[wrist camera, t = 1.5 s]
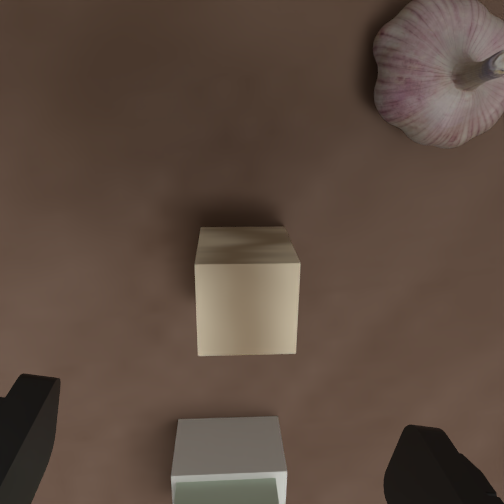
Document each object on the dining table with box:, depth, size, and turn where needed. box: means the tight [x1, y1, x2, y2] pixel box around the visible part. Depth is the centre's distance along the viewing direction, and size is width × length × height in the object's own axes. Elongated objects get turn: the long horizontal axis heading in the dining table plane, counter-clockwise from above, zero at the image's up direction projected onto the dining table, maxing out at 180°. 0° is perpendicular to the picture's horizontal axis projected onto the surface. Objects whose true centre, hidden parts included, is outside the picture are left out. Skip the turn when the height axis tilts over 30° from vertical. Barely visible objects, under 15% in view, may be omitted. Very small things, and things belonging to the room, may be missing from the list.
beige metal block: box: [195, 227, 301, 356], centre depth 24 cm, size 5×5×6 cm
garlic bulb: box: [373, 0, 504, 149], centre depth 20 cm, size 8×7×8 cm
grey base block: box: [171, 416, 287, 504], centre depth 30 cm, size 7×7×5 cm
